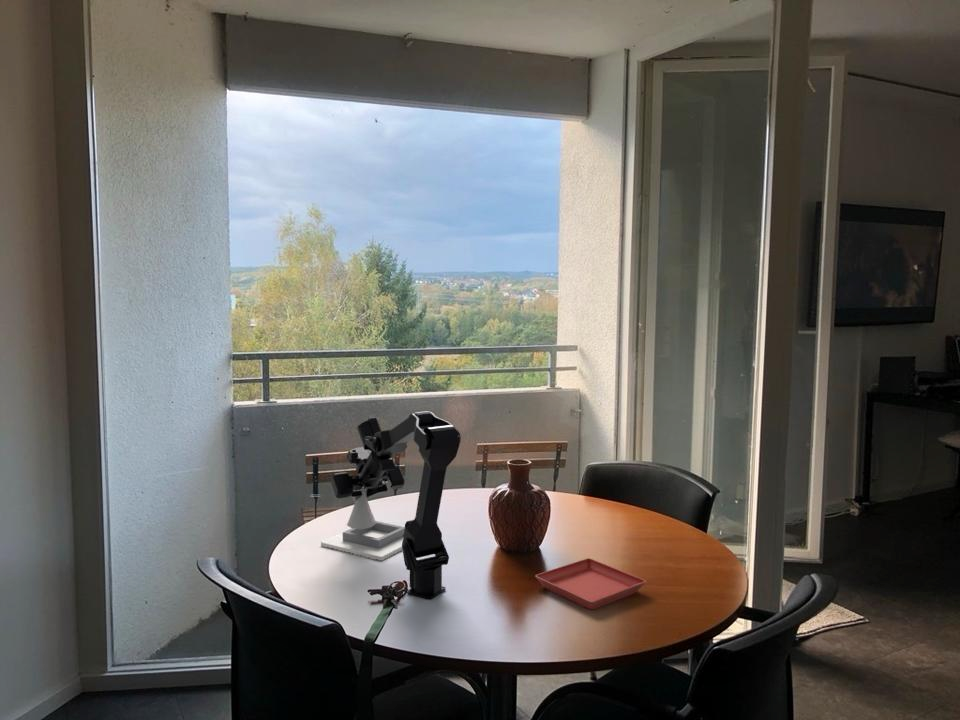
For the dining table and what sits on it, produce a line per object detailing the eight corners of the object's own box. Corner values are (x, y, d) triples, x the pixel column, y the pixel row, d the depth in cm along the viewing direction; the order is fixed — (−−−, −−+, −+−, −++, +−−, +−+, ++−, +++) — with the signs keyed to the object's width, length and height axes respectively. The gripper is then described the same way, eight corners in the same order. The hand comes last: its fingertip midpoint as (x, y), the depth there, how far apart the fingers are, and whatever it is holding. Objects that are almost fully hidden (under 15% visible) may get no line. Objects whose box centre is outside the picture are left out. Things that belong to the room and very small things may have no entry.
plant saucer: (533, 588, 165) (533, 574, 165) (588, 569, 176) (588, 556, 176) (591, 617, 151) (591, 601, 151) (647, 595, 162) (647, 580, 162)
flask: (362, 531, 185) (362, 493, 185) (341, 526, 189) (341, 489, 188) (381, 524, 192) (381, 487, 191) (360, 519, 195) (360, 483, 194)
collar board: (426, 537, 197) (426, 525, 197) (381, 560, 180) (381, 548, 180) (369, 524, 207) (369, 513, 207) (320, 545, 190) (320, 534, 190)
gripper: (399, 435, 190) (381, 467, 200) (332, 443, 180) (317, 477, 190) (414, 470, 184) (394, 502, 194) (345, 480, 174) (329, 513, 184)
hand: (359, 497), depth 191 cm, fingers closed on flask, 3 cm apart
